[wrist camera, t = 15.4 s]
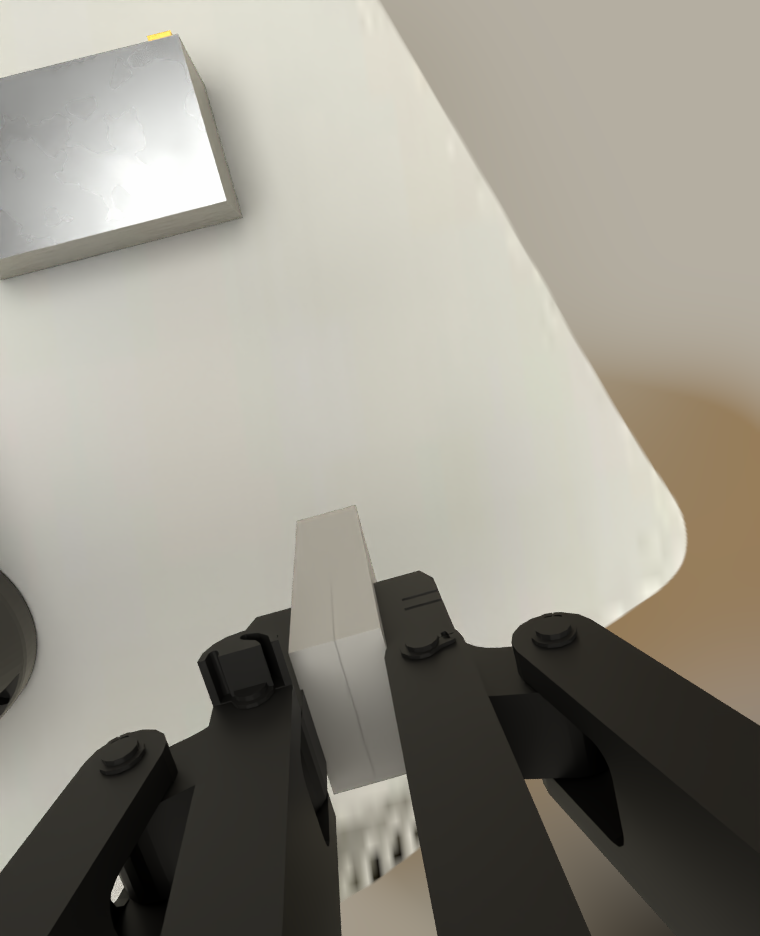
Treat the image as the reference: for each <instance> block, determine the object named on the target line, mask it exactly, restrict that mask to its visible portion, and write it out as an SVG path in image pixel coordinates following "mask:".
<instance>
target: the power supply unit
mask: <svg viewBox="0 0 760 936" xmlns="http://www.w3.org/2000/svg"><path fill="white" fill-rule="evenodd" d="M147 37H148V41H147V42H143V43H139V44H135V45H131V46H127V47H123V48H119V49H115V50H111V51H107V52H103V53H99V54H95V55H91V56H87V57H83V58H79V59H75V60H71V61H67V62H63V63H59V64H55V65H51V66H47V67H43V68H39V69H35V70H31V71H27V72H23V73H19V74H15V75H11V76H7V77H4V78H0V280H4V279H7V278H11V277H15V276H19V275H23V274H27V273H31V272H34V271H38V270H42V269H46V268H50V267H54V266H58V265H61V264H65V263H69V262H73V261H77V260H81V259H85V258H88V257H92V256H96V255H100V254H104V253H108V252H112V251H115V250H119V249H123V248H127V247H131V246H135V245H139V244H143V243H146V242H150V241H154V240H158V239H162V238H166V237H170V236H173V235H177V234H181V233H185V232H189V231H193V230H197V229H200V228H204V227H208V226H212V225H216V224H220V223H224V222H227V221H231V220H235V219H239V218H243V217H242V214H241V210H240V207H239V203H238V200H237V197H236V193H235V190H234V186H233V183H232V179H231V176H230V172H229V169H228V165H227V162H226V158H225V155H224V151H223V148H222V145H221V141H220V138H219V134H218V131H217V127H216V124H215V120H214V117H213V113H212V110H211V106H210V103H209V99H208V96H207V93H206V89H205V86H204V83H203V81H202V79H201V78H200V76H199V74H198V72H197V70H196V68H195V66H194V64H193V62H192V60H191V58H190V57H189V55H188V53H187V51H186V49H185V47H184V45H183V43H182V41H181V39H180V37H179V35H178V34H175V35H172V33H171V31H166V32H162V33H158V34H154V35H150V36H147Z"/></svg>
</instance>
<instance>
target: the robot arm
mask: <svg viewBox="0 0 760 936" xmlns="http://www.w3.org/2000/svg"><path fill="white" fill-rule="evenodd" d="M35 657H36V633H35V628H34V623H33V620H32V617H31V614H30V612H29V609H28V607H27V605H26V603H25V601H24V600H23V598H22V596H21V595H20V593H19V592H18V590H17V589H16V588H15V587H14V585H13V584H12V583H11V582H10V581H9V580H8V579H7V578H6V577H5V576H4V575H3V574H2V573H1V572H0V718H1V717H2V716H3V715H4V714H5V713H6V712H7V711H8V709H9V708H10V707H11V705H12V704H13V703H14V701H15V700H16V699H17V697H18V696H19V695H20V693H21V692H22V690H23V689H24V687H25V686H26V684H27V682H28V680H29V678H30V675H31V673H32V670H33V667H34V663H35ZM197 663H198V666H199V668H200V671H201V674H202V677H203V679H204V682H205V685H206V688H207V690H208V693H209V696H210V699H211V701H212V704H213V710H212V715H211V719H210V723H209V726H208V727H207V728H205V729H204V730H202V731H200V732H199V733H197V734H195V735H193V736H191V737H189V738H187V739H185V740H183V741H181V742H179V743H177V744H174V745H172V746H170V747H169V746H168V743H167V741H166V738H165V735H164V734H163V733H161V732H159V731H157V730H139V731H135V732H131V733H130V732H129V733H126V734H123V735H120V737H116V738H114V739H112V740H111V741H109V742H108V743H107V744H106V745H105V746H103V747H102V748H100V749H99V750H97V751H96V752H95V753H94V754H93V755H92V756H91V757H90V758H89V759H88V760H87V761H86V762H85V763H84V764H83V766H82V767H81V768H80V770H79V771H78V772H77V774H76V775H75V776H74V777H73V779H72V780H71V781H70V783H69V784H68V785H67V787H66V788H65V789H64V790H63V792H62V793H61V794H60V796H59V797H58V798H57V800H56V801H55V802H54V804H53V805H52V806H51V807H50V809H49V810H48V811H47V813H46V814H45V815H44V817H43V818H42V819H41V821H40V822H39V823H38V824H37V826H36V827H35V828H34V830H33V831H32V832H31V834H30V835H29V836H28V837H27V839H26V840H25V841H24V843H23V844H22V845H21V847H20V848H19V849H18V851H17V852H16V853H15V854H14V856H13V857H12V858H11V860H10V861H9V862H8V864H7V865H6V866H5V868H4V869H3V870H2V871H1V873H0V936H341V917H340V896H339V876H338V856H337V836H336V816H335V813H334V810H333V807H332V804H331V801H330V797H329V794H328V791H327V774H328V778H329V781H330V784H331V787H332V790H333V793H334V794H338V793H341V792H345V791H348V790H352V789H355V788H359V787H362V786H366V785H369V784H373V783H376V782H380V781H383V780H387V779H390V778H394V777H398V776H401V775H405V774H407V779H408V784H409V789H410V795H411V800H412V805H413V810H414V815H415V821H416V826H417V831H418V836H419V841H420V847H421V851H422V857H423V862H424V867H425V872H426V878H427V882H428V888H429V893H430V898H431V904H432V909H433V914H434V919H435V925H436V930H437V935H438V936H591V934H590V932H589V930H588V927H587V925H586V922H585V920H584V918H583V915H582V913H581V911H580V908H579V906H578V904H577V901H576V899H575V897H574V894H573V892H572V890H571V887H570V885H569V883H568V880H567V878H566V876H565V873H564V871H563V869H562V866H561V864H560V862H559V860H558V857H557V855H556V853H555V850H554V848H553V846H552V843H551V841H550V839H549V836H548V834H547V832H546V829H545V827H544V825H543V822H542V820H541V818H540V815H539V813H538V811H537V808H536V806H535V804H534V802H533V799H532V797H531V794H530V792H529V790H528V788H527V785H526V783H525V780H524V779H542V780H543V783H544V785H545V787H546V789H547V791H548V793H549V794H550V795H551V796H552V797H553V799H554V800H555V801H556V802H557V803H558V804H559V805H560V806H561V808H562V809H563V810H564V811H565V812H566V813H567V814H568V815H569V816H570V818H571V819H572V820H573V821H574V822H575V823H576V824H577V825H578V827H580V829H581V830H582V831H583V832H584V833H585V834H586V835H587V837H588V838H589V839H590V840H591V841H592V842H593V843H594V844H595V845H596V847H597V848H598V849H599V850H600V851H601V852H602V853H603V855H604V856H605V857H606V858H607V859H608V860H609V861H610V862H611V863H612V865H613V866H614V867H615V868H616V869H617V870H618V871H619V872H620V874H621V875H622V876H623V877H624V878H625V879H626V880H627V881H628V882H629V884H630V885H631V886H632V887H633V888H634V889H635V890H636V891H637V893H638V894H639V895H640V896H641V897H642V898H643V899H644V900H645V902H646V903H647V904H648V905H649V906H650V907H651V908H652V909H653V910H654V911H655V913H656V914H657V915H658V916H659V917H660V918H661V919H662V921H663V922H664V923H666V925H667V926H668V927H669V928H670V929H671V931H672V932H673V933H674V934H675V935H676V936H760V726H759V725H758V724H756V723H755V722H753V721H751V720H750V719H748V718H747V717H745V716H744V715H742V714H740V713H739V712H737V711H736V710H734V709H732V708H731V707H729V706H728V705H726V704H724V703H723V702H721V701H720V700H718V699H716V698H715V697H713V696H712V695H710V694H709V693H707V692H705V691H704V690H702V689H700V688H699V687H698V686H696V685H694V684H693V683H691V682H690V681H688V680H686V679H685V678H683V677H682V676H680V675H678V674H677V673H675V672H674V671H672V670H671V669H669V668H667V667H666V666H664V665H663V664H661V663H659V662H658V661H656V660H655V659H653V658H651V657H650V656H648V655H647V654H645V653H644V652H642V651H640V650H639V649H637V648H636V647H634V646H632V645H631V644H629V643H628V642H626V641H624V640H623V639H621V638H619V637H618V636H617V635H615V634H613V633H612V632H610V631H609V630H607V629H605V628H604V627H602V626H601V625H599V624H597V623H596V622H594V621H593V620H591V619H589V618H587V617H584V616H581V615H579V614H572V613H563V612H555V613H553V614H552V613H548V614H543V615H542V616H539V617H536V618H532V619H530V620H529V621H527V622H525V623H523V624H522V625H520V626H519V627H518V628H517V630H516V631H515V632H514V633H513V636H512V647H502V648H484V647H476V646H473V645H470V644H467V643H466V642H465V641H464V638H463V636H462V635H461V634H460V633H459V632H458V631H457V630H455V629H454V627H453V624H452V622H451V619H450V617H449V615H448V612H447V610H446V608H445V605H444V603H443V600H442V598H441V596H440V593H439V591H438V589H437V586H436V584H435V582H434V579H433V578H432V577H430V576H429V575H427V574H425V573H423V572H421V571H416V572H413V573H409V574H405V575H402V576H398V577H394V578H391V579H387V580H384V581H380V582H376V578H375V574H374V571H373V567H372V563H371V560H370V556H369V553H368V549H367V545H366V542H365V538H364V534H363V531H362V527H361V524H360V520H359V516H358V513H357V509H356V506H355V505H354V506H350V507H346V508H343V509H339V510H335V511H332V512H328V513H324V514H321V515H317V516H313V517H310V518H306V519H302V520H299V521H297V525H296V541H295V557H294V573H293V588H292V604H291V608H289V609H285V610H282V611H278V612H274V613H271V614H267V615H263V616H260V617H256V618H255V620H254V621H253V622H252V623H251V624H250V626H249V627H248V628H247V629H246V630H245V631H242V632H239V633H237V634H234V635H231V636H228V637H226V638H224V639H222V640H221V641H219V642H217V643H215V644H214V645H212V646H211V647H210V648H209V649H207V650H206V651H205V652H204V653H203V654H202V656H201V657H200V659H199V660H198V662H197ZM118 875H119V876H120V878H121V881H122V883H123V885H124V888H123V890H122V892H121V894H120V896H119V897H118V899H117V900H116V901H115V903H113V902H112V901H111V892H112V889H113V886H114V884H115V881H116V878H117V876H118Z"/></svg>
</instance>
